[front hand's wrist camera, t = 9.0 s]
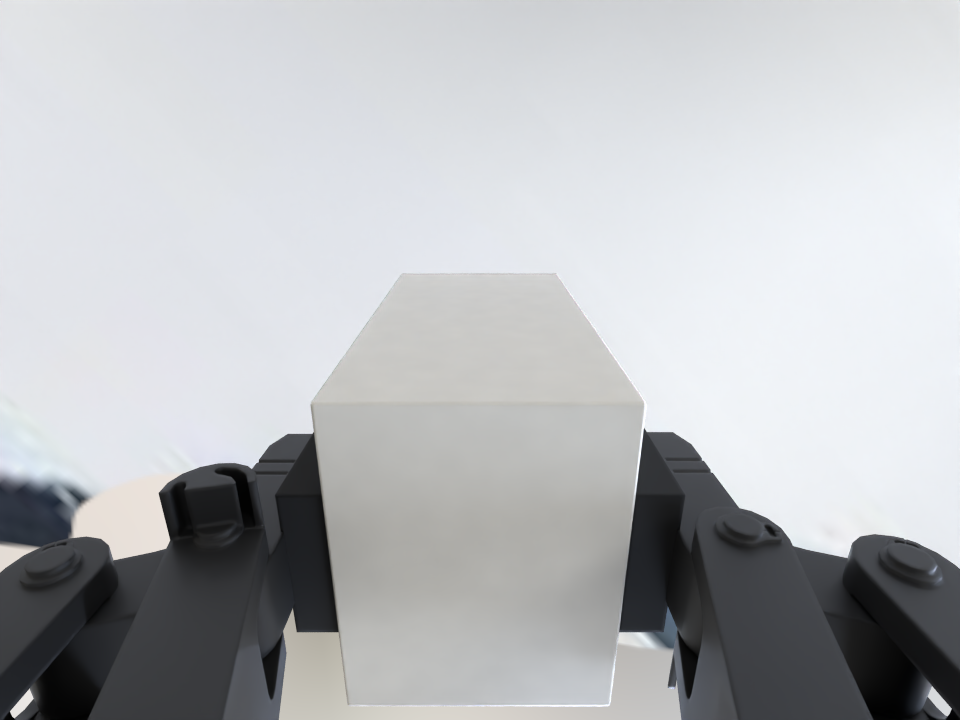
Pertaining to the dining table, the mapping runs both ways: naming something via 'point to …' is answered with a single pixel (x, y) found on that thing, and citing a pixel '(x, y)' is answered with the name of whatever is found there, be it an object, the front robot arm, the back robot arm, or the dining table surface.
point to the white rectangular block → (478, 495)
